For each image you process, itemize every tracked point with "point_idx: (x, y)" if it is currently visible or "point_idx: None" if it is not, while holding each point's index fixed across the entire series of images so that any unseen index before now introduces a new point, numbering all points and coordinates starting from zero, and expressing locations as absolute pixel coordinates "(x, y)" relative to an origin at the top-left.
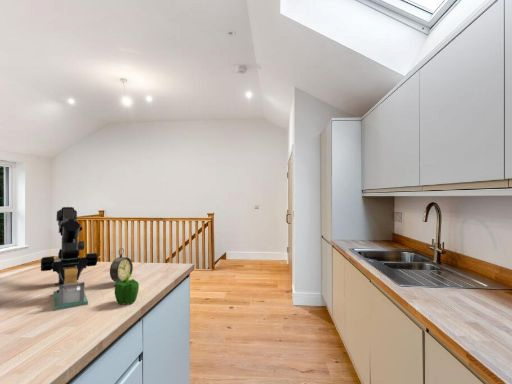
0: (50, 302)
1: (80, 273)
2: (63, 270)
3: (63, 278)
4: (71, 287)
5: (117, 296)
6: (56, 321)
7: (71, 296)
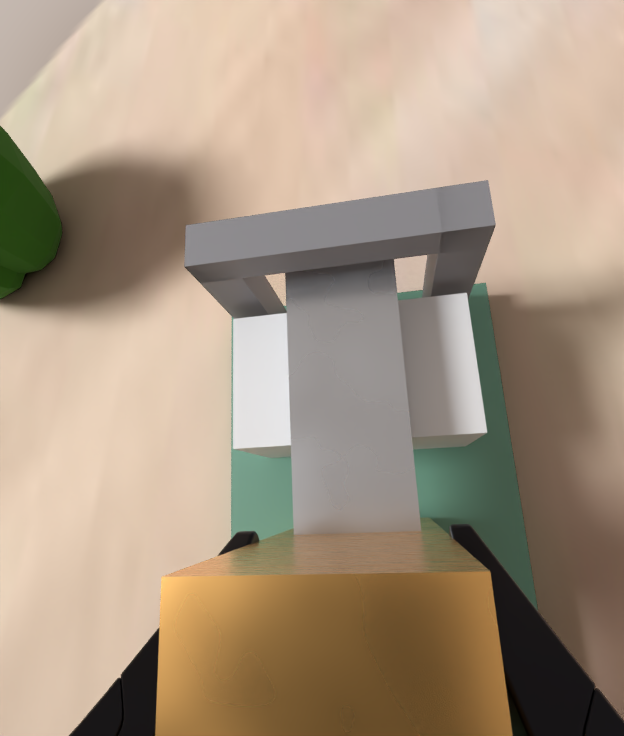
0: (553, 563)
1: None
2: (531, 734)
3: (474, 547)
4: (343, 290)
5: (28, 166)
6: (438, 79)
7: None
